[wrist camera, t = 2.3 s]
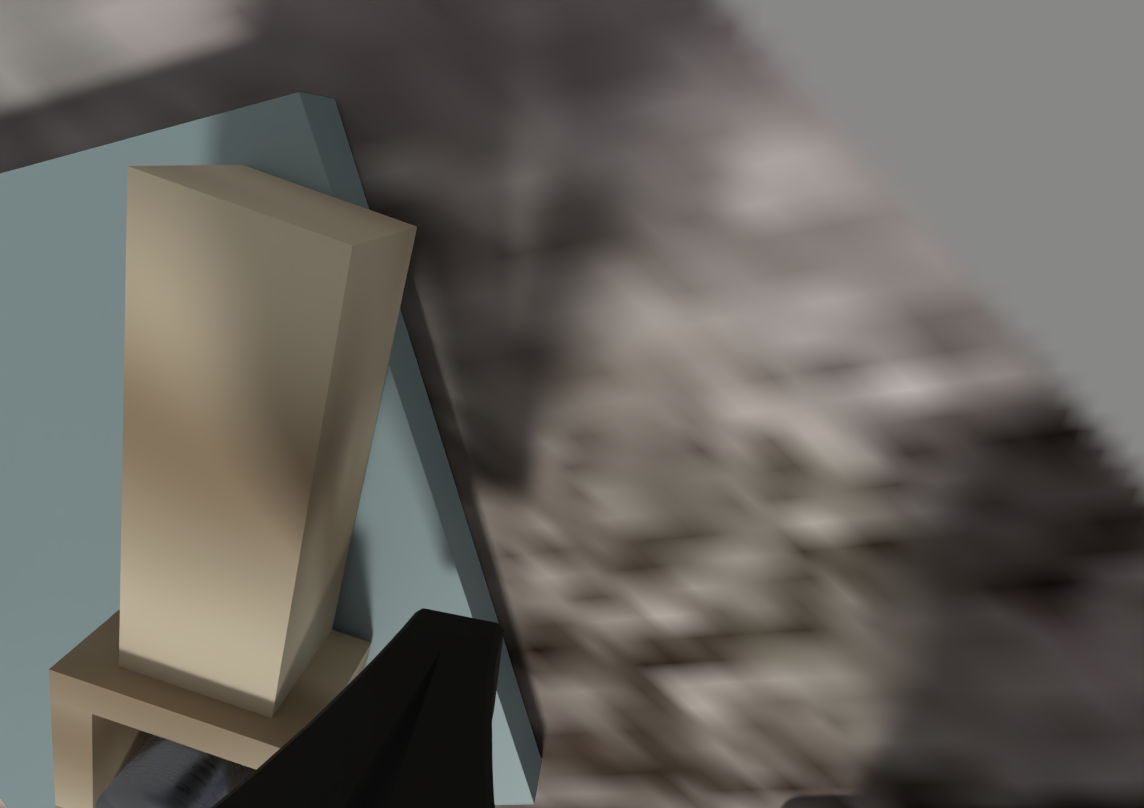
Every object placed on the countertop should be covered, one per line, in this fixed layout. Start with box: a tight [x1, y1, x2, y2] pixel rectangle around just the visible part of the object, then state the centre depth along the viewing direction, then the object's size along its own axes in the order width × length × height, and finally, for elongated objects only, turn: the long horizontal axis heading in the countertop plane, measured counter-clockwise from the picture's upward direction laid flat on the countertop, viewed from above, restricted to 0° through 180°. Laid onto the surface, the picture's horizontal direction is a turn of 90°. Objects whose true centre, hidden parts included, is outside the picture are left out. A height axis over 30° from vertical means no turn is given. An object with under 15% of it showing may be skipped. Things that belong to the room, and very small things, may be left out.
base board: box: [0, 92, 542, 808], centre depth 11 cm, size 14×14×3 cm
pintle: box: [96, 735, 253, 808], centre depth 12 cm, size 2×2×4 cm
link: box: [49, 165, 417, 808], centre depth 10 cm, size 12×4×2 cm, turn 162°
